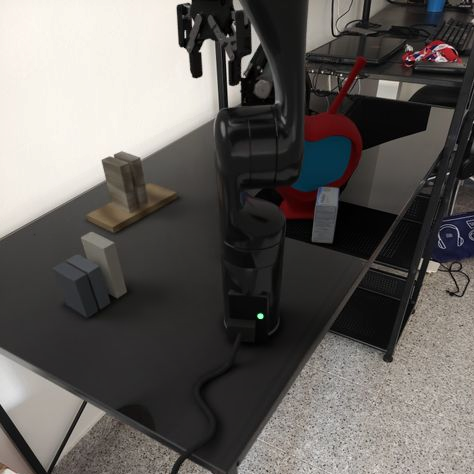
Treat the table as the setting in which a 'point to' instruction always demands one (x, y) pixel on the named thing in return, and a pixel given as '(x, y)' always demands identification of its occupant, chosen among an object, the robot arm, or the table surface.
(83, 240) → the cream book
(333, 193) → the medicine box
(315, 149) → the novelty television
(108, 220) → the rack
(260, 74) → the typewriter
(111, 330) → the table surface
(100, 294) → the grey books
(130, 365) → the table surface
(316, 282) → the table surface
